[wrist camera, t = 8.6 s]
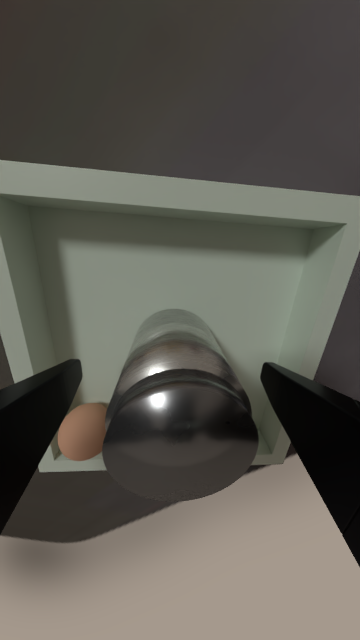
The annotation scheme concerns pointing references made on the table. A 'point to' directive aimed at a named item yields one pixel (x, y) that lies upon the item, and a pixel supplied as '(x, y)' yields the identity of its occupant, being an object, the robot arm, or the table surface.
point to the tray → (167, 277)
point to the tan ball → (83, 432)
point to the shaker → (177, 414)
